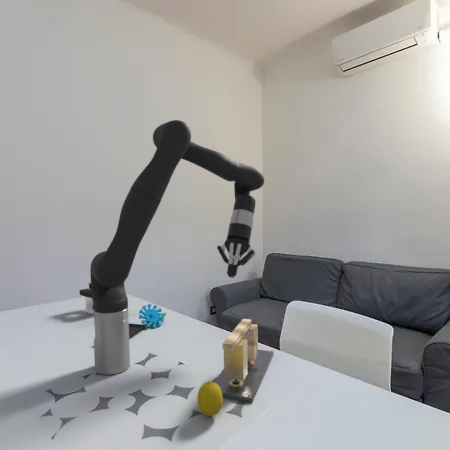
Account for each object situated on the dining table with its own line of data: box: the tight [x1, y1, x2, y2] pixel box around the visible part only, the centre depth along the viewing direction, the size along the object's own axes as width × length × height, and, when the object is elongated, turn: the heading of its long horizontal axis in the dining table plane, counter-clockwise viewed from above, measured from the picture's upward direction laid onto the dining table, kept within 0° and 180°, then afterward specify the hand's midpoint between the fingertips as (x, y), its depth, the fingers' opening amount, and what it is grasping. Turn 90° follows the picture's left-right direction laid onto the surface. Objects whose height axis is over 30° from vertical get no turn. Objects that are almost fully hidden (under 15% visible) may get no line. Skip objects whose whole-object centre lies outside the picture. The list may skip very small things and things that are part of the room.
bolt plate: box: [213, 339, 274, 404], centre depth 100 cm, size 27×11×12 cm, turn 162°
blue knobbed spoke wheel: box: [138, 303, 168, 329], centre depth 140 cm, size 11×6×10 cm
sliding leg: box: [222, 318, 259, 361], centre depth 95 cm, size 20×5×12 cm, turn 162°
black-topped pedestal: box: [79, 281, 94, 314], centre depth 155 cm, size 28×26×13 cm
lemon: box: [197, 380, 224, 418], centre depth 80 cm, size 6×6×8 cm
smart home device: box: [129, 322, 146, 340], centre depth 128 cm, size 8×2×20 cm
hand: (231, 277), depth 116 cm, fingers closed
